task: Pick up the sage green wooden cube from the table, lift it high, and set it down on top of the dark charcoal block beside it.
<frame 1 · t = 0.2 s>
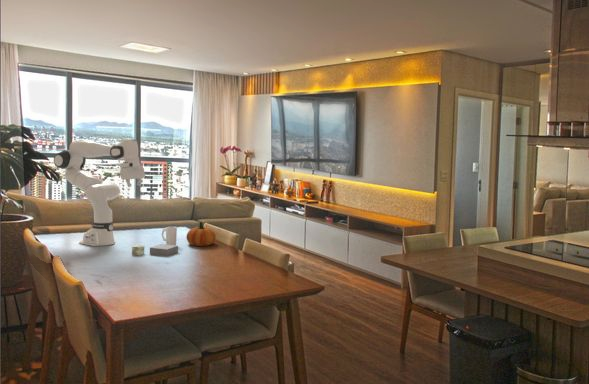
hand: (134, 186, 315), 39 cm above the table, tool pointing down, fingers open, 8 cm apart
mug: (168, 245, 327), on the table
pumpkin: (201, 244, 333), on the table
riser block: (164, 253, 304), on the table
cube: (138, 254, 299), on the table
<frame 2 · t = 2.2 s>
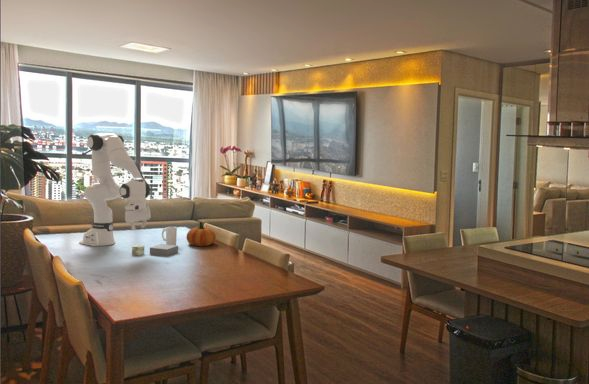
hand: (138, 228, 298), 15 cm above the table, tool pointing down, fingers open, 8 cm apart
nothing on the table moved.
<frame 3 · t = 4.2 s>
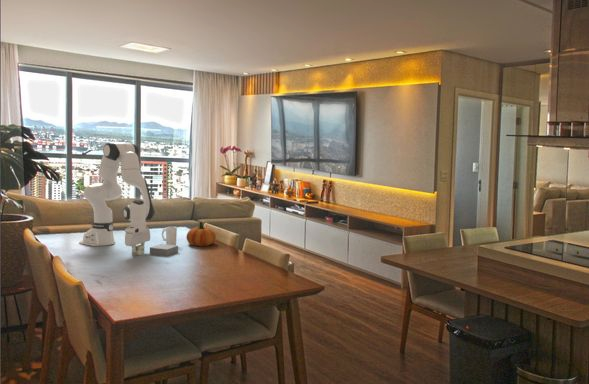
hand: (138, 250, 299), 2 cm above the table, tool pointing down, fingers closed on cube, 5 cm apart
cube: (138, 254, 299), on the table, touching gripper
everything else where it was.
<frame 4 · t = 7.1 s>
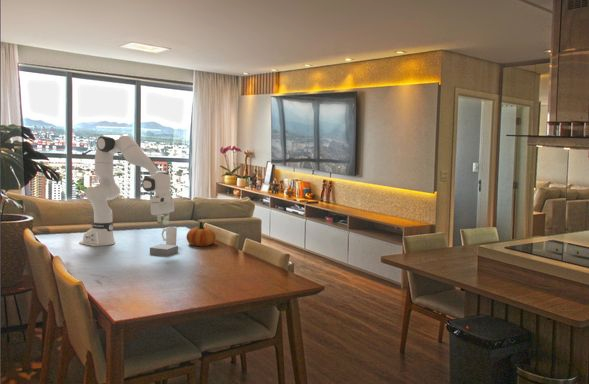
hand: (163, 221, 302), 20 cm above the table, tool pointing down, fingers closed on cube, 5 cm apart
cube: (163, 224, 302), point 18 cm above the table, touching gripper
everything else where it was.
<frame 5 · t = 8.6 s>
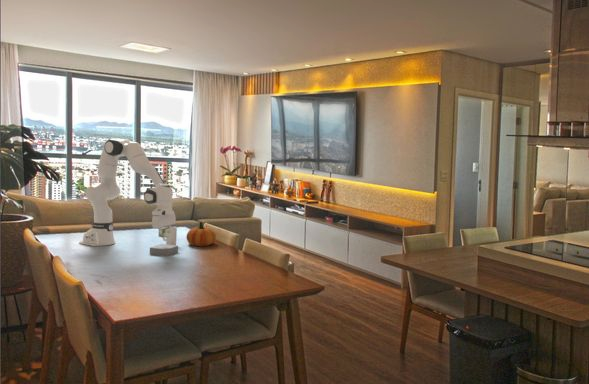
hand: (164, 233, 303), 12 cm above the table, tool pointing down, fingers closed on cube, 5 cm apart
cube: (164, 236, 303), point 10 cm above the table, touching gripper
everything else where it was.
when the fingers open (8 cm above the table, at t = 9.8 s): cube drops 2 cm, resting on riser block.
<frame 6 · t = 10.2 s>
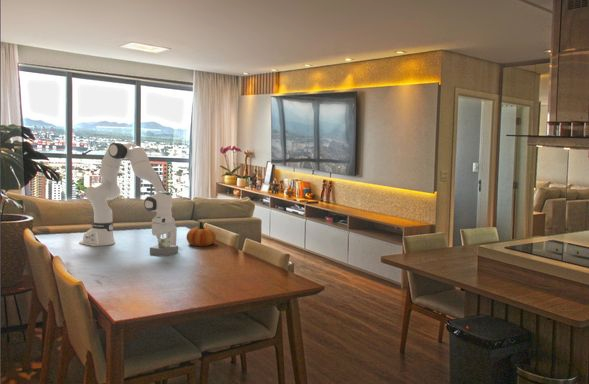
hand: (164, 240, 303), 8 cm above the table, tool pointing down, fingers open, 8 cm apart
cube: (164, 246, 304), point 4 cm above the table, touching riser block
everything else where it was.
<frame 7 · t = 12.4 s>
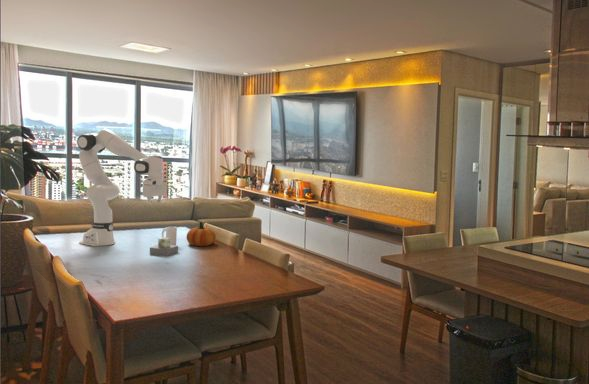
hand: (154, 203, 313), 29 cm above the table, tool pointing down, fingers open, 8 cm apart
nothing on the table moved.
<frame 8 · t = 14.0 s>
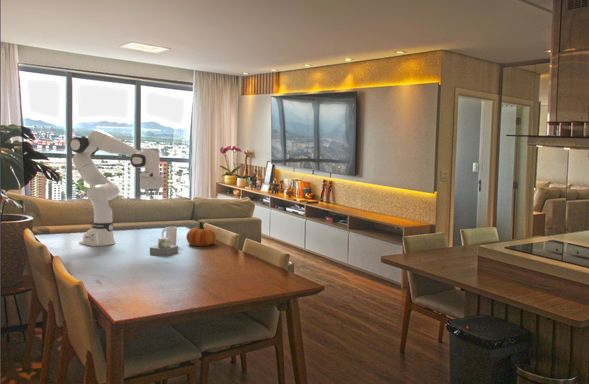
hand: (152, 195, 316), 33 cm above the table, tool pointing down, fingers open, 8 cm apart
nothing on the table moved.
at the end: cube inside the target area on the riser block (0.0 cm from its centre), point 4.0 cm above the riser block's base; cube tilted 0°; the gripper is holding nothing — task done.
